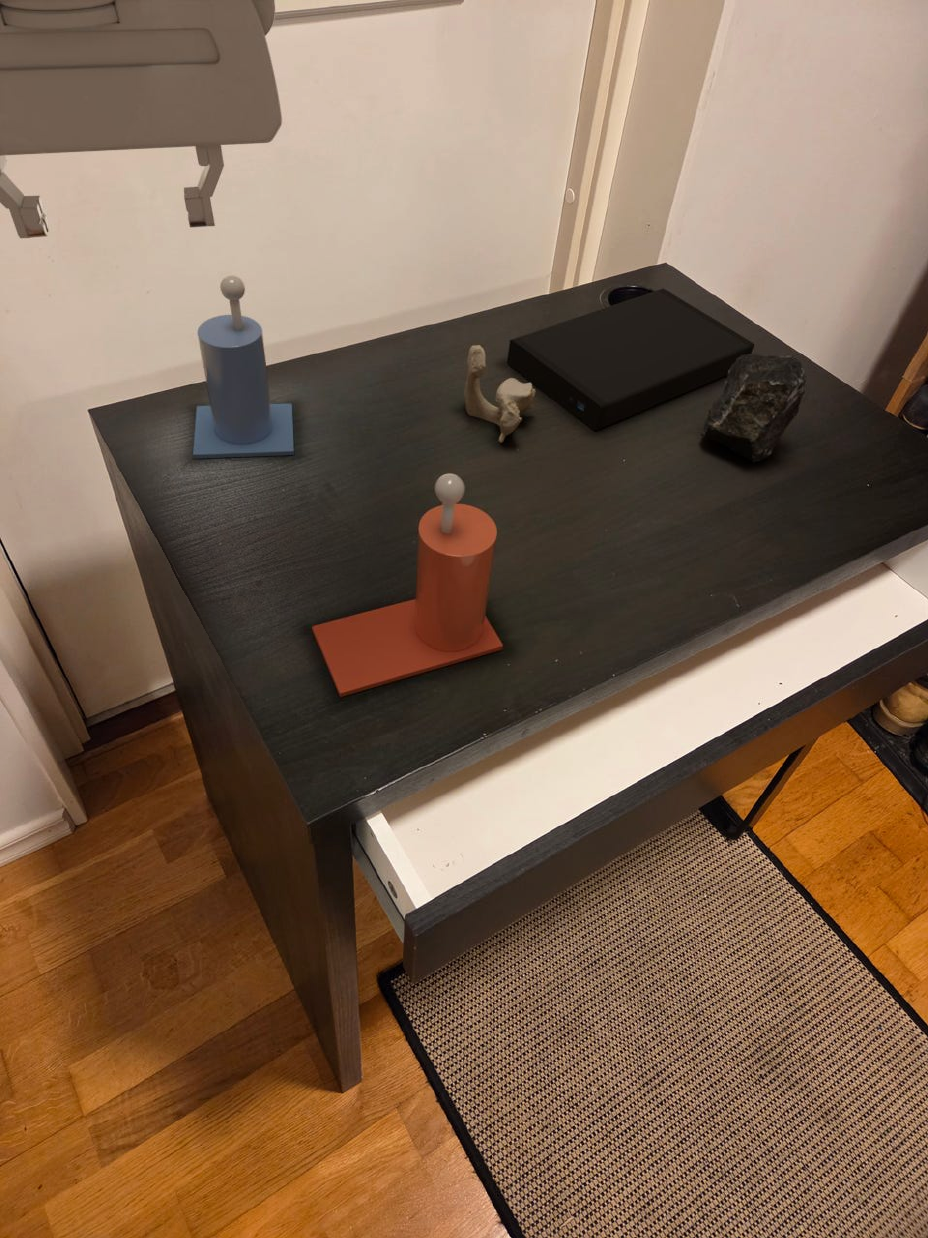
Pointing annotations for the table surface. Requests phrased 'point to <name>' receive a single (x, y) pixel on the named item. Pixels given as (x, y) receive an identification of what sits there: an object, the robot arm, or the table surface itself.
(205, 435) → the blue mat
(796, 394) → the rock
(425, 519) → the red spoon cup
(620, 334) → the external hard drive
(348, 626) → the red mat
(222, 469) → the table surface
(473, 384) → the bone
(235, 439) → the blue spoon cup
